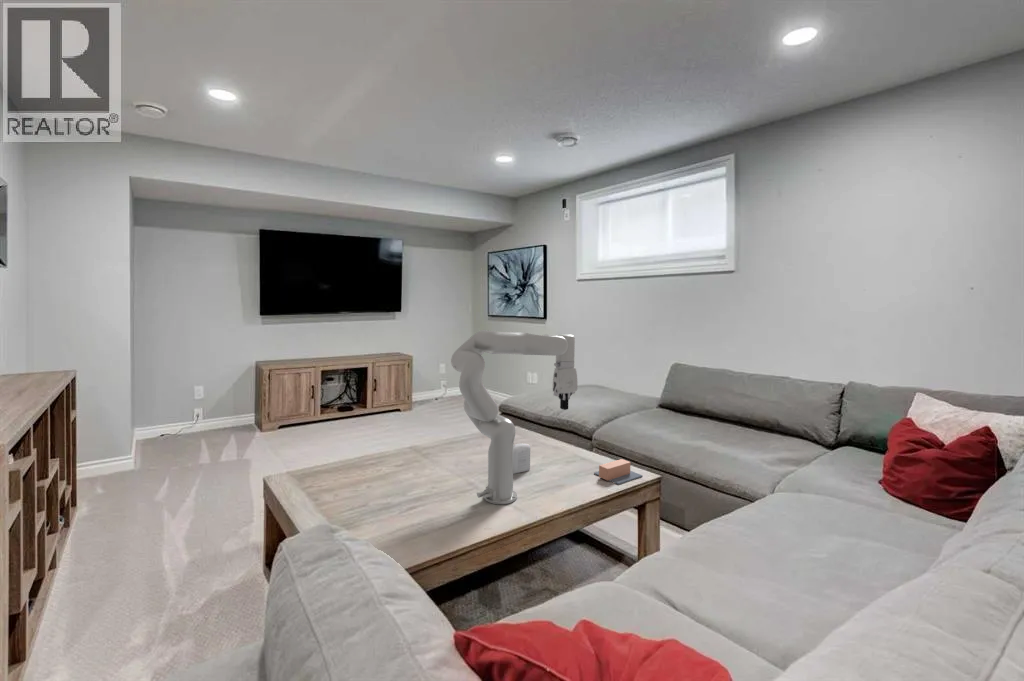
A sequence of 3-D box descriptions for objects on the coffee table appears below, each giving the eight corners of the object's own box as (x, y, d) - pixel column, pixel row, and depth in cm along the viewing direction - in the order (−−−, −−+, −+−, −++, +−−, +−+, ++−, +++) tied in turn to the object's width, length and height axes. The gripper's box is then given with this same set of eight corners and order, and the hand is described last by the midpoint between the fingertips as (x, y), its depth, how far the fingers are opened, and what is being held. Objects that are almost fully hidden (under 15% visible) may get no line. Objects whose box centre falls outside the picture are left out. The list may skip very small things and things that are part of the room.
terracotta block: (607, 468, 199) (630, 462, 207) (599, 465, 203) (621, 458, 211) (607, 480, 199) (630, 473, 207) (598, 476, 203) (621, 469, 211)
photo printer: (526, 467, 216) (526, 440, 214) (531, 470, 212) (531, 443, 211) (506, 472, 210) (507, 444, 209) (512, 475, 206) (512, 447, 205)
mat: (618, 484, 197) (618, 483, 197) (594, 473, 208) (594, 472, 208) (642, 476, 205) (642, 475, 205) (617, 466, 217) (617, 465, 217)
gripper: (556, 367, 187) (556, 413, 189) (584, 364, 195) (583, 408, 197) (544, 365, 193) (544, 409, 195) (572, 362, 202) (571, 404, 203)
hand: (564, 408), depth 196 cm, fingers closed
